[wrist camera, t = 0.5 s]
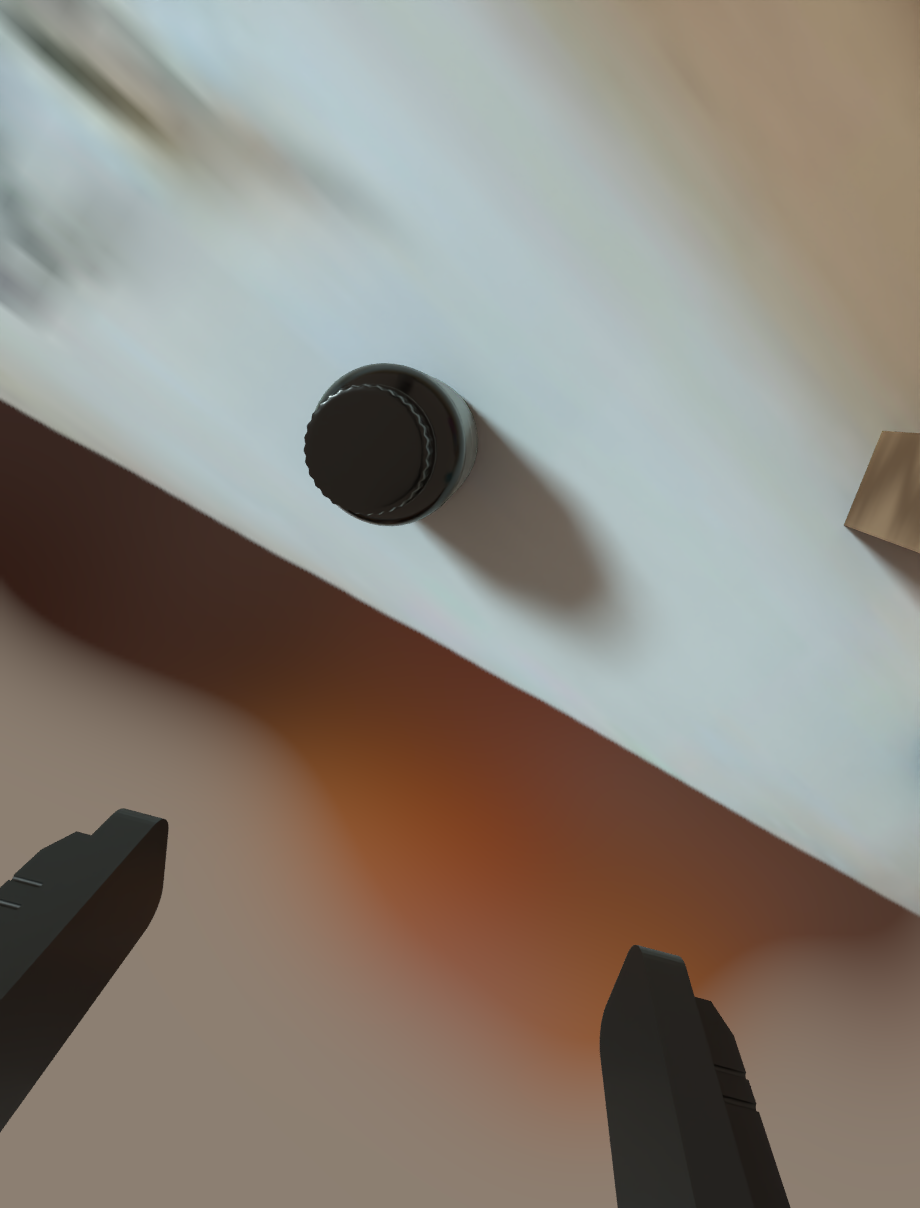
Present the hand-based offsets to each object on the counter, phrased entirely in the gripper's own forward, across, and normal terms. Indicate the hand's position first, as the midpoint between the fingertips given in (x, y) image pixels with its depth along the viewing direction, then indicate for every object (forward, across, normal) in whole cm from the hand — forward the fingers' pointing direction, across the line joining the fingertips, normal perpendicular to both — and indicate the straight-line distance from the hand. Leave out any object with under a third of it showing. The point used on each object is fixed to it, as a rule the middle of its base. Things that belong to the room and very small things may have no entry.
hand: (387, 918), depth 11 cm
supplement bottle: (+27, +5, -5) cm, 28 cm away
